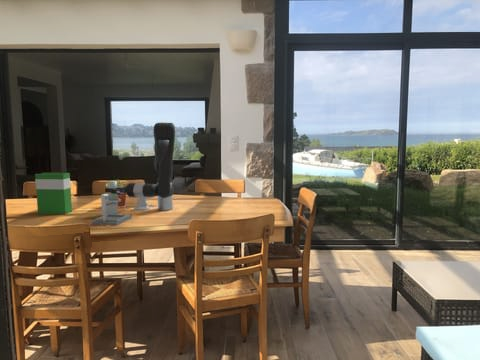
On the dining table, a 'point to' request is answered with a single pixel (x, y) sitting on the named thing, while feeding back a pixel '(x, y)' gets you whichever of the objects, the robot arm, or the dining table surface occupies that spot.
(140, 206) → the chess piece
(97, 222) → the locating board
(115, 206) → the supplement box
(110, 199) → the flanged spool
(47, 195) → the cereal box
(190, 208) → the dining table surface
